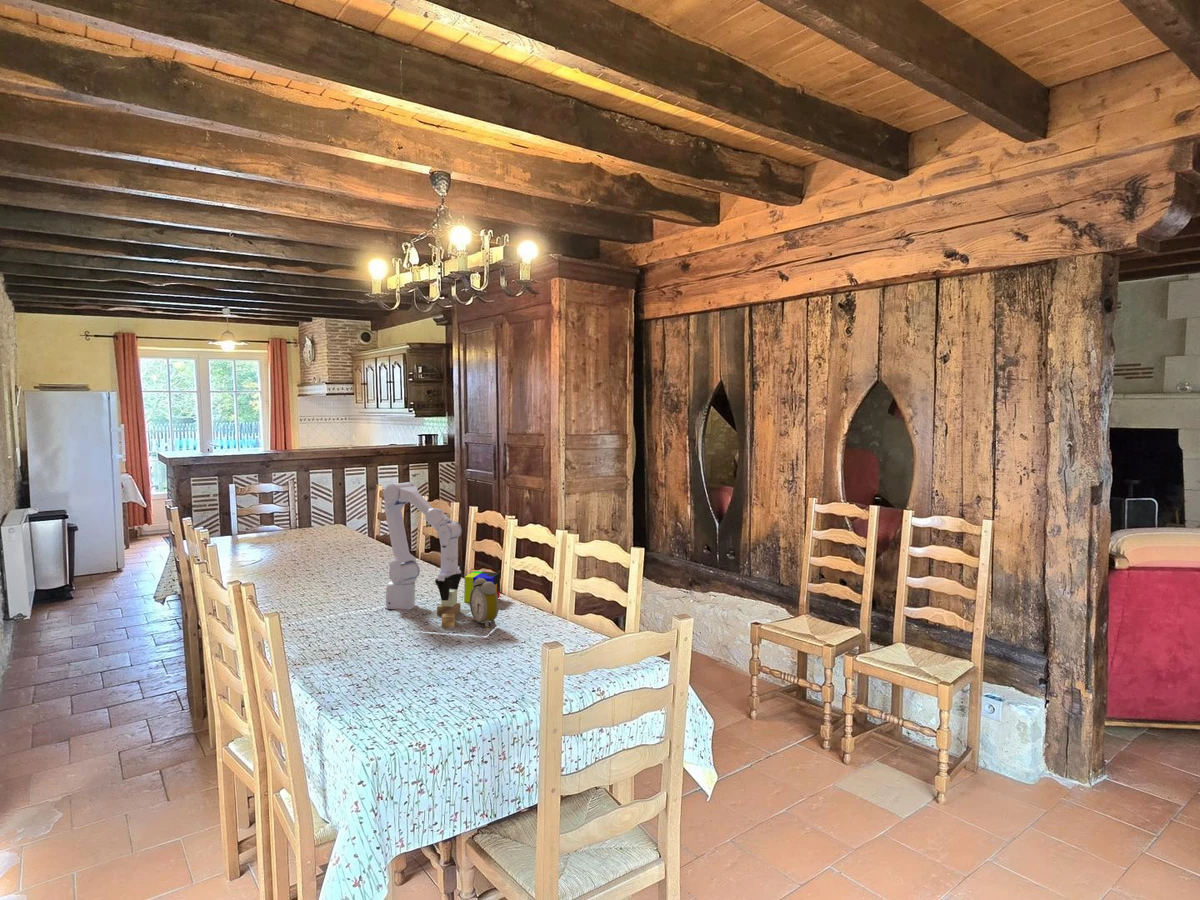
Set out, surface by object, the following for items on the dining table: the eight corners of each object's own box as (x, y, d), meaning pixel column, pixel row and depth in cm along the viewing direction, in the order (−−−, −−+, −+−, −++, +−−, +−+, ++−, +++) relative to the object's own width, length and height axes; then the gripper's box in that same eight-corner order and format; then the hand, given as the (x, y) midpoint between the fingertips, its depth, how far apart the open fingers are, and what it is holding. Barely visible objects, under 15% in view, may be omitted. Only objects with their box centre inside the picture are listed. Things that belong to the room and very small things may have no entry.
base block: (437, 615, 239) (437, 606, 239) (443, 610, 245) (443, 602, 245) (453, 616, 238) (454, 607, 238) (460, 611, 244) (460, 603, 244)
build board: (424, 618, 237) (424, 617, 237) (439, 609, 248) (439, 607, 248) (459, 621, 235) (459, 619, 235) (471, 611, 246) (471, 610, 246)
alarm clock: (468, 622, 234) (469, 577, 233) (487, 619, 238) (488, 575, 237) (484, 631, 224) (484, 584, 224) (503, 628, 228) (504, 582, 227)
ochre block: (441, 629, 226) (441, 617, 225) (442, 626, 229) (442, 613, 229) (454, 629, 226) (454, 617, 226) (454, 625, 230) (454, 613, 230)
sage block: (441, 605, 240) (441, 591, 240) (446, 602, 244) (446, 588, 243) (452, 606, 239) (452, 592, 239) (457, 603, 243) (457, 589, 243)
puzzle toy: (490, 606, 254) (490, 578, 254) (464, 604, 256) (464, 576, 256) (499, 599, 264) (500, 572, 264) (474, 597, 266) (474, 571, 266)
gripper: (452, 562, 233) (452, 603, 233) (468, 554, 247) (467, 592, 248) (432, 561, 234) (431, 602, 235) (448, 553, 248) (448, 591, 249)
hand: (448, 597), depth 241 cm, fingers open, 7 cm apart
